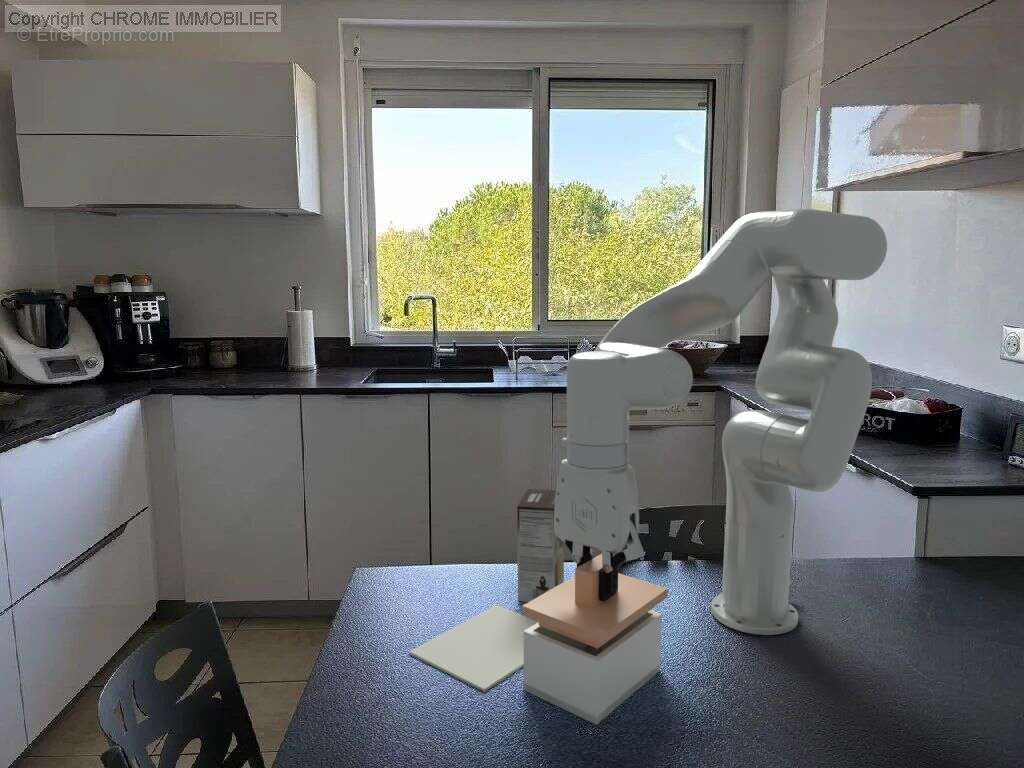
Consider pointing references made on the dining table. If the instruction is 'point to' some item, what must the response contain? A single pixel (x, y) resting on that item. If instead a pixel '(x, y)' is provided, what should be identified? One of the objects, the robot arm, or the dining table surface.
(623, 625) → the lid
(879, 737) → the dining table surface
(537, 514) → the coffee box
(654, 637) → the tub
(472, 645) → the mat
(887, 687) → the dining table surface
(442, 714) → the dining table surface
